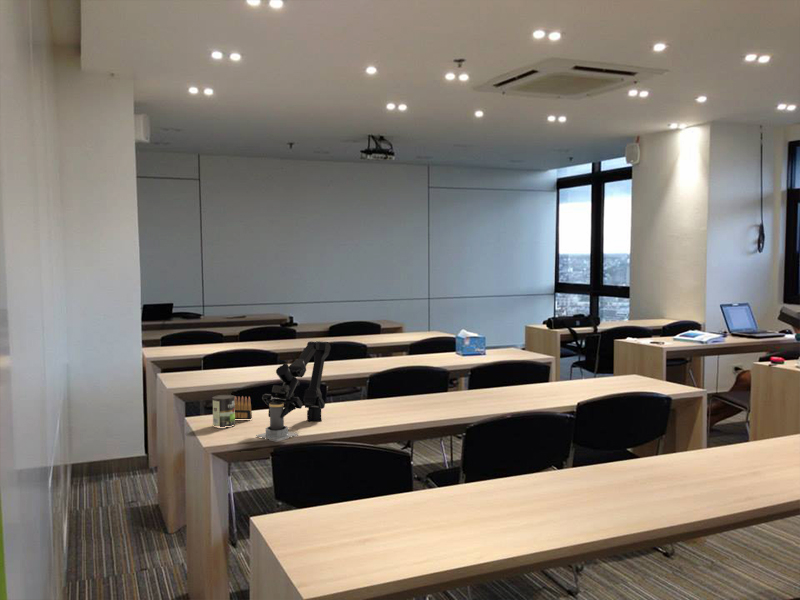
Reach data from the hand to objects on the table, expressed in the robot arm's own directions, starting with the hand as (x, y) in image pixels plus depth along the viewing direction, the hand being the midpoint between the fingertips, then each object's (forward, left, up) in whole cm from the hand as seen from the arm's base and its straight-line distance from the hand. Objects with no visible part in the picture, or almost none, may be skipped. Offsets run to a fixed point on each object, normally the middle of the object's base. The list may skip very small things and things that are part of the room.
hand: (275, 417), depth 295 cm
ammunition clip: (+18, -35, -9) cm, 40 cm away
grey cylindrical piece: (-1, -1, -7) cm, 7 cm away
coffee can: (+25, -24, -9) cm, 36 cm away
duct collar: (-1, -1, -9) cm, 9 cm away
